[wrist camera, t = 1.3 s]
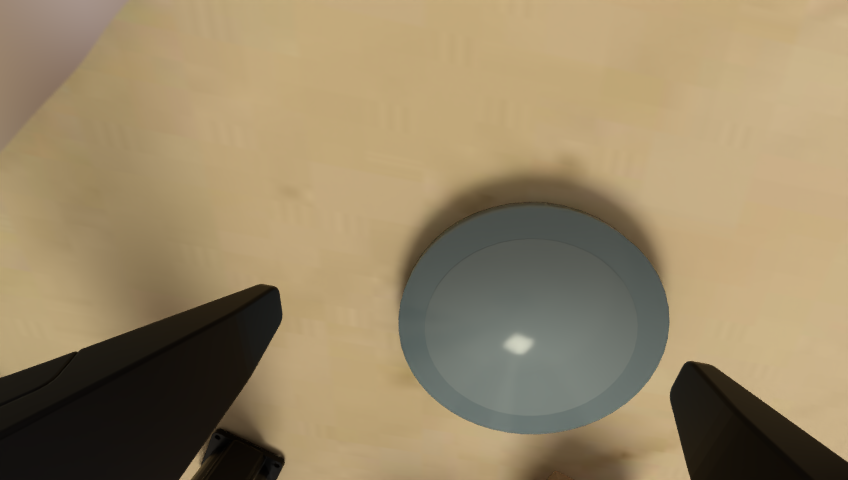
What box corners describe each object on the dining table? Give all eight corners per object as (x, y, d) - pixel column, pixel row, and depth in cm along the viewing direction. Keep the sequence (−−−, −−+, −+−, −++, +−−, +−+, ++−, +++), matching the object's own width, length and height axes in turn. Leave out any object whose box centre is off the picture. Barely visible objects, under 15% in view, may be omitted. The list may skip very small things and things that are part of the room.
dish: (559, 449, 27) (564, 469, 25) (366, 353, 26) (360, 368, 24) (717, 281, 21) (736, 294, 19) (475, 153, 20) (475, 156, 19)
